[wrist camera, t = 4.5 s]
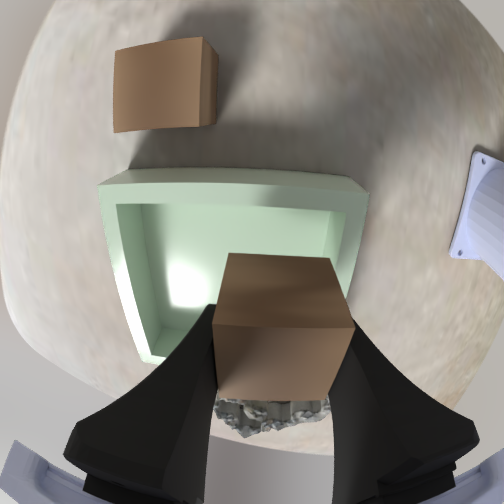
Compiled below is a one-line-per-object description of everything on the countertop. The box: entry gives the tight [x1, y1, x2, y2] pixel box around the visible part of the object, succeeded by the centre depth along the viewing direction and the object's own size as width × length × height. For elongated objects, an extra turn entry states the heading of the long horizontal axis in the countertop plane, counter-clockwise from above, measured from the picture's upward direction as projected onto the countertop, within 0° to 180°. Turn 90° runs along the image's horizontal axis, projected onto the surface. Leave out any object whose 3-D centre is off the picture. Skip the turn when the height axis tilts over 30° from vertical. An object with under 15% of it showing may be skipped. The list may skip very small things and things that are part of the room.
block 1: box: [113, 37, 218, 133], centre depth 11 cm, size 4×4×4 cm
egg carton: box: [213, 391, 331, 438], centre depth 23 cm, size 11×8×4 cm
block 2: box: [212, 253, 355, 401], centre depth 10 cm, size 4×4×4 cm
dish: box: [97, 167, 370, 365], centre depth 16 cm, size 13×13×4 cm
